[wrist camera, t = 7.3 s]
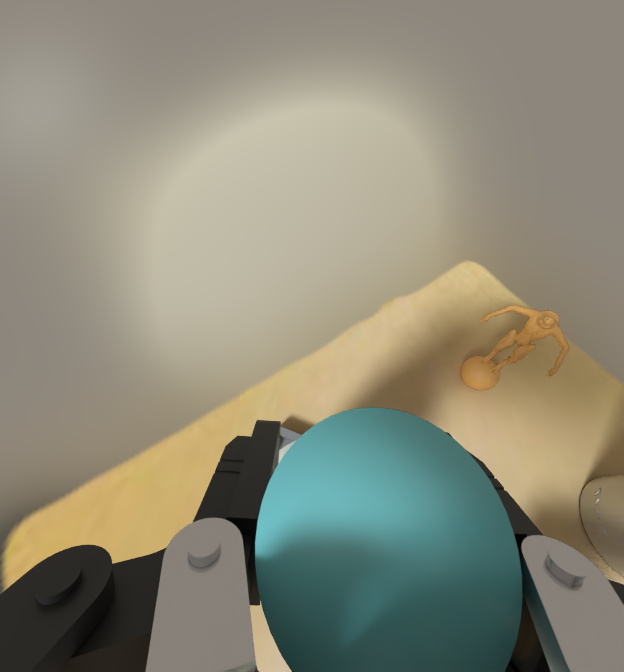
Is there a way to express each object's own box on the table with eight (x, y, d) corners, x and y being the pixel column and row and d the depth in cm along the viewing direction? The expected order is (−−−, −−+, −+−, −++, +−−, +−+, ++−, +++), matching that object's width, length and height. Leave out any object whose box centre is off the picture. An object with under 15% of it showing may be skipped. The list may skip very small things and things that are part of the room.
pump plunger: (386, 486, 14) (525, 457, 6) (360, 600, 12) (518, 813, 4) (300, 450, 15) (312, 376, 6) (261, 553, 13) (201, 644, 4)
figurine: (434, 363, 38) (489, 309, 27) (462, 338, 40) (524, 278, 29) (490, 416, 35) (575, 377, 24) (517, 385, 37) (607, 337, 26)
